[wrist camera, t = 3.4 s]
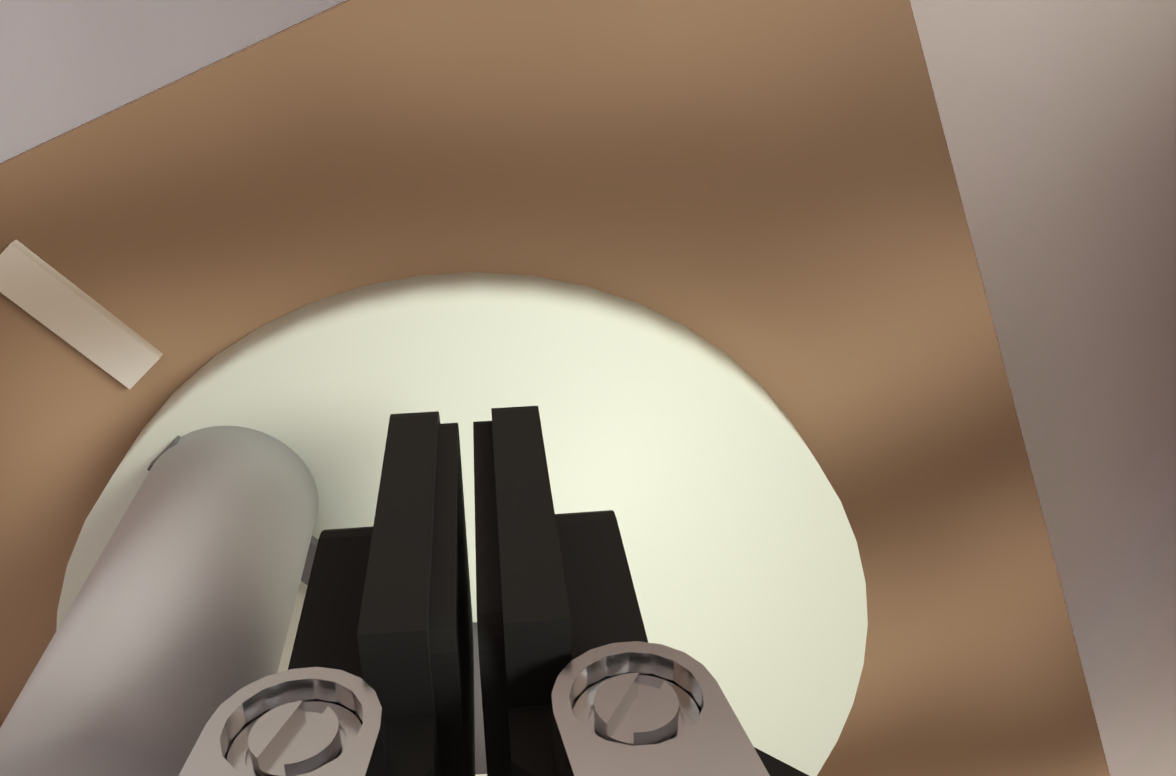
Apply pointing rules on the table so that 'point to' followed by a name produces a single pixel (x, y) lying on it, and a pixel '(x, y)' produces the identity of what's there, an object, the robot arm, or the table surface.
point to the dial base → (585, 257)
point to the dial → (464, 395)
